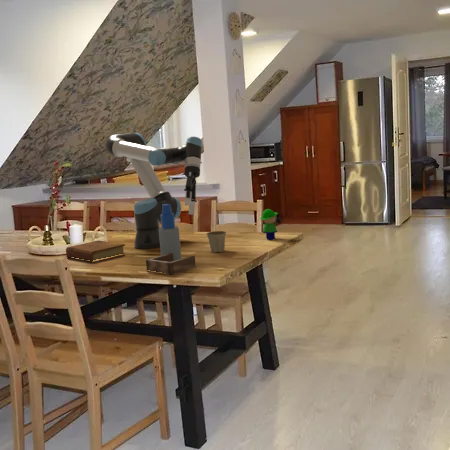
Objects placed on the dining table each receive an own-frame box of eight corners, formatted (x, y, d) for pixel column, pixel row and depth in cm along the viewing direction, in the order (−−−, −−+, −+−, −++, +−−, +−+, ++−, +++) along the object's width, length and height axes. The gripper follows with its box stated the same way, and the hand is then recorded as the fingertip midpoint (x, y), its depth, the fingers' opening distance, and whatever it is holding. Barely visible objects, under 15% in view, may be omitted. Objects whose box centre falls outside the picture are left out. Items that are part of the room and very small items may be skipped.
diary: (66, 259, 293) (65, 247, 292) (99, 251, 306) (98, 240, 305) (92, 263, 276) (90, 251, 276) (125, 255, 289) (124, 243, 288)
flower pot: (230, 248, 283) (229, 230, 281) (224, 253, 274) (222, 234, 272) (211, 249, 286) (210, 231, 284) (204, 253, 277) (203, 234, 276)
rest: (146, 271, 250) (145, 259, 250) (171, 263, 261) (170, 252, 260) (171, 274, 240) (170, 263, 240) (195, 267, 250) (194, 255, 250)
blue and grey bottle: (161, 262, 264) (155, 206, 261) (161, 258, 273) (156, 204, 269) (181, 260, 265) (176, 204, 261) (181, 256, 274) (176, 202, 270)
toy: (282, 238, 296) (280, 208, 294) (266, 241, 293) (264, 211, 291) (274, 236, 304) (272, 207, 302) (258, 238, 301) (256, 209, 299)
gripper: (197, 157, 277) (194, 201, 271) (202, 177, 301) (200, 218, 295) (181, 157, 278) (178, 200, 272) (188, 177, 302) (185, 217, 295)
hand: (189, 209), depth 283 cm, fingers open, 13 cm apart
